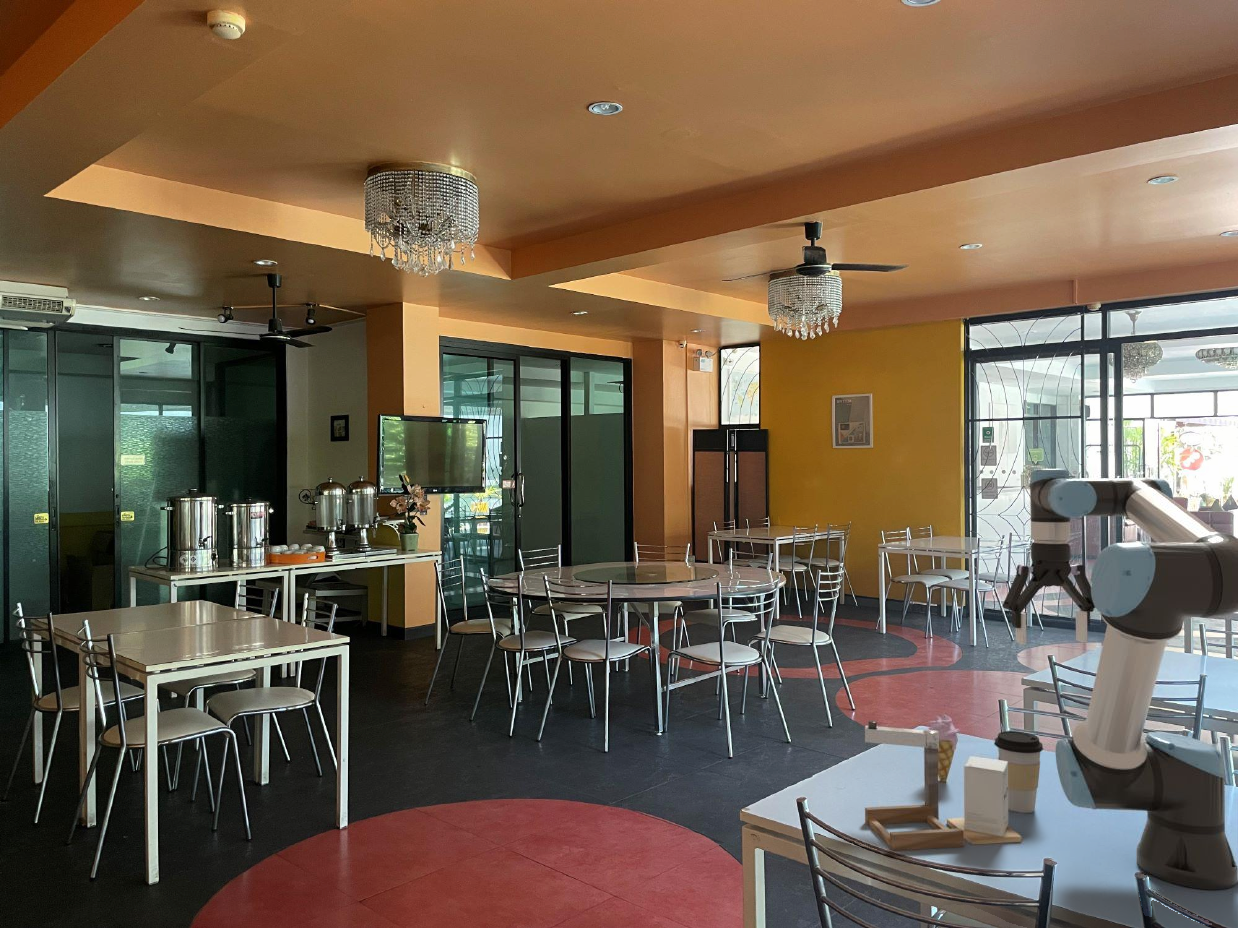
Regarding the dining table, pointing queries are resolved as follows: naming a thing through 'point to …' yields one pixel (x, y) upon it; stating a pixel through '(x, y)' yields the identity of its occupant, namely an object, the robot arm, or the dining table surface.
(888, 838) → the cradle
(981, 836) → the pad
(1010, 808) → the coffee cup
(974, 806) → the supplement box
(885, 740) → the bar
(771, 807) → the dining table surface
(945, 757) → the ice cream cone
